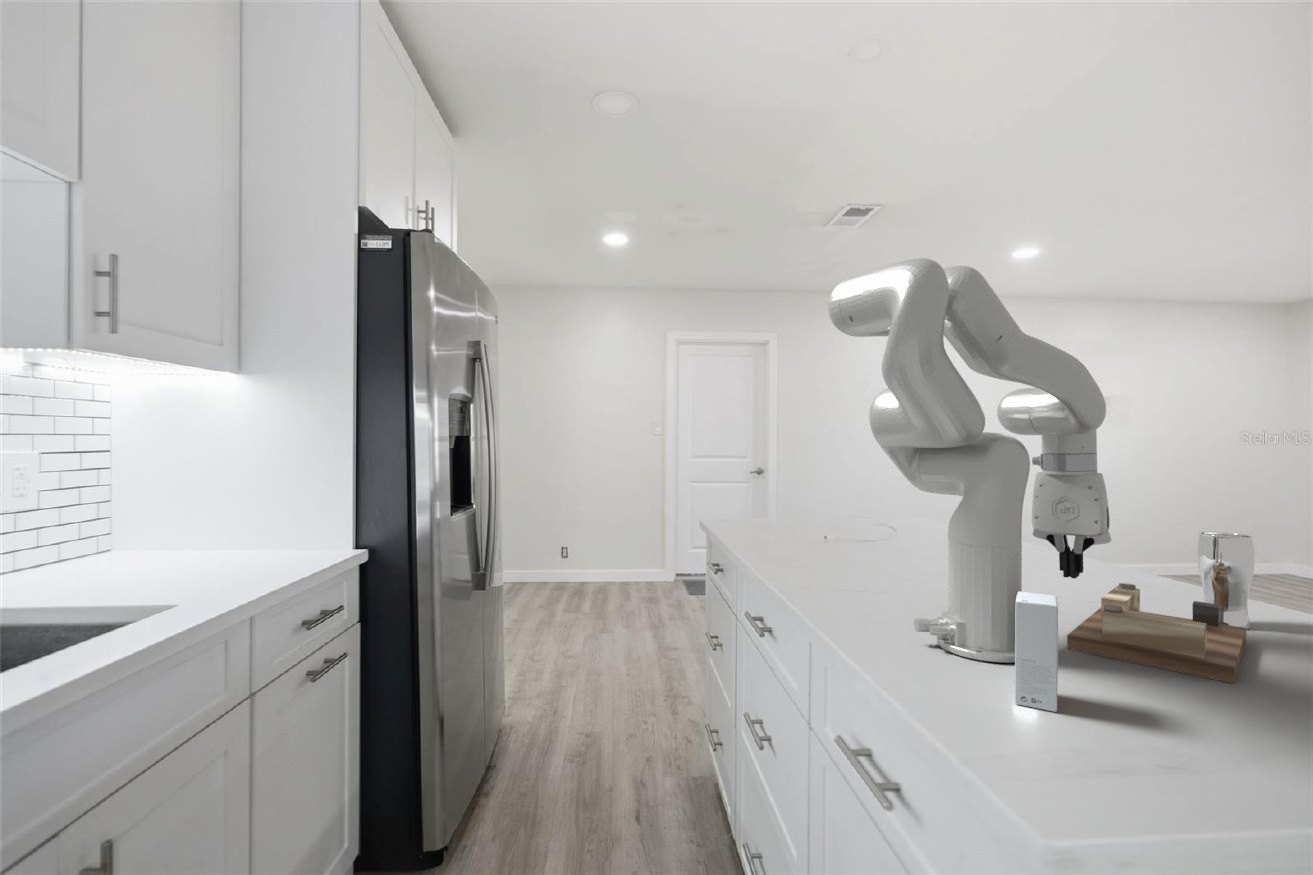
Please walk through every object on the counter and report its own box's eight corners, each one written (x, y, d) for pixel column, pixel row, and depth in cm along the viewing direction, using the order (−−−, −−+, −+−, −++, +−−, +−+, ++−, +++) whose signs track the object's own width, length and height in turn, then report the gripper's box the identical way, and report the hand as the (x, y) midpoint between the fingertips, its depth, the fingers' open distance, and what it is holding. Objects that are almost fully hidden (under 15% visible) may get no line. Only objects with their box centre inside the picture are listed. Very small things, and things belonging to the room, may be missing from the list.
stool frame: (1234, 683, 78) (1234, 630, 78) (1067, 648, 91) (1067, 603, 91) (1246, 641, 95) (1245, 597, 95) (1103, 617, 108) (1103, 578, 108)
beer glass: (1265, 632, 99) (1265, 538, 100) (1215, 629, 101) (1215, 536, 101) (1234, 619, 106) (1234, 532, 106) (1188, 617, 108) (1187, 530, 108)
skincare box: (1058, 713, 69) (1058, 606, 69) (1014, 705, 72) (1014, 601, 72) (1057, 695, 74) (1057, 594, 75) (1016, 687, 77) (1016, 590, 77)
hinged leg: (1117, 609, 104) (1117, 582, 104) (1139, 613, 102) (1139, 585, 102) (1101, 624, 96) (1101, 594, 96) (1125, 628, 93) (1125, 597, 93)
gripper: (1011, 464, 104) (1013, 573, 104) (1120, 466, 93) (1123, 588, 94) (1024, 462, 109) (1027, 566, 110) (1130, 464, 99) (1132, 579, 99)
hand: (1071, 576), depth 102 cm, fingers closed
